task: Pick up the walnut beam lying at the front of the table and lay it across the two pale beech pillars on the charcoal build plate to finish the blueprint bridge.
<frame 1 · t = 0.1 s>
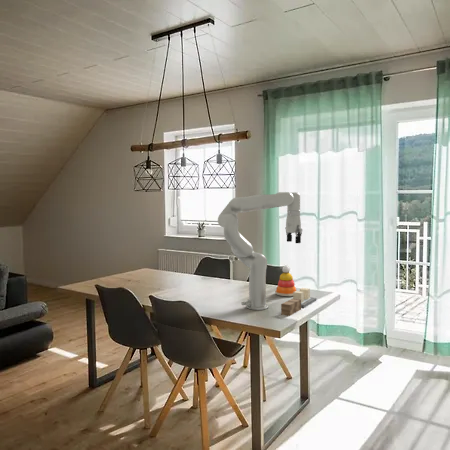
hand: (293, 242, 255), 37 cm above the table, tool pointing down, fingers open, 9 cm apart
walnut beam: (291, 312, 239), on the table
stacking toy: (286, 295, 280), on the table
build plate: (301, 302, 259), on the table
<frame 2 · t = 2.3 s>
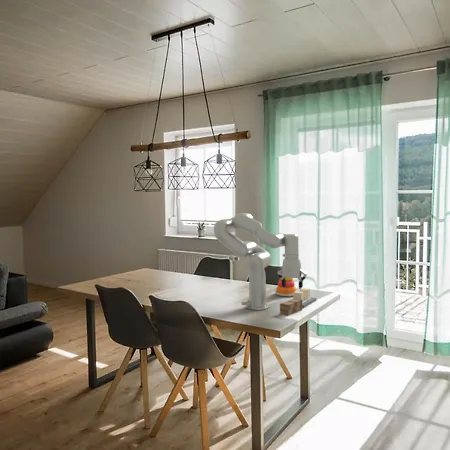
hand: (292, 287, 238), 14 cm above the table, tool pointing down, fingers open, 9 cm apart
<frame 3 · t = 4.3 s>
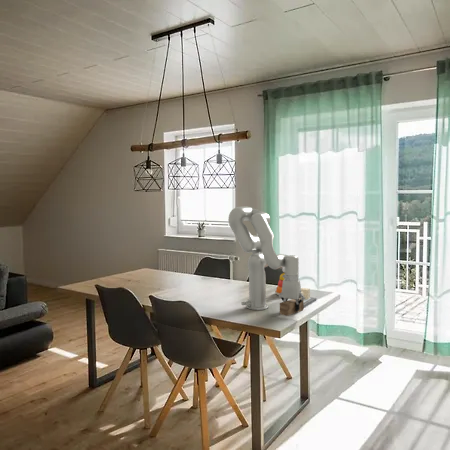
hand: (291, 309, 239), 1 cm above the table, tool pointing down, fingers closed on walnut beam, 5 cm apart
walnut beam: (291, 312, 239), on the table, touching gripper
everything else where it was.
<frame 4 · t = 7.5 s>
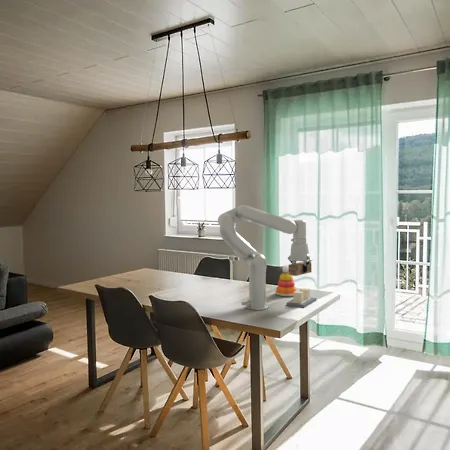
hand: (300, 271, 252), 20 cm above the table, tool pointing down, fingers closed on walnut beam, 5 cm apart
walnut beam: (300, 273, 252), point 19 cm above the table, touching gripper
everything else where it was.
when the fingers open (10 cm above the table, at t = 10.6 s): walnut beam drops 1 cm, resting on build plate.
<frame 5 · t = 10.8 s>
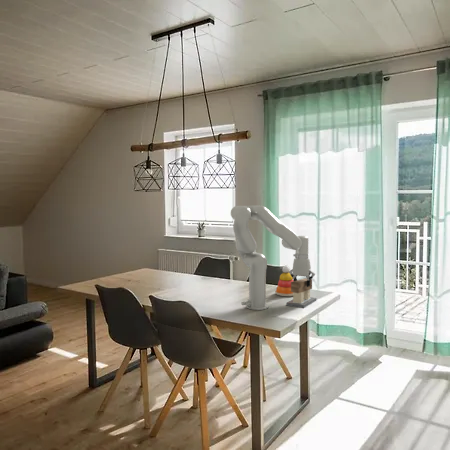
hand: (301, 285, 258), 10 cm above the table, tool pointing down, fingers open, 7 cm apart
walnut beam: (301, 290, 258), point 7 cm above the table, touching build plate
everything else where it was.
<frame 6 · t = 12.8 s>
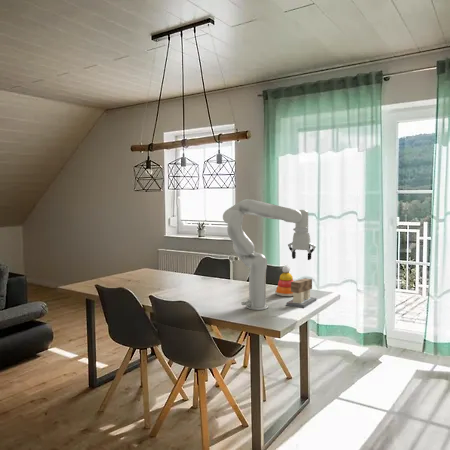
hand: (301, 259, 257), 26 cm above the table, tool pointing down, fingers open, 9 cm apart
nothing on the table moved.
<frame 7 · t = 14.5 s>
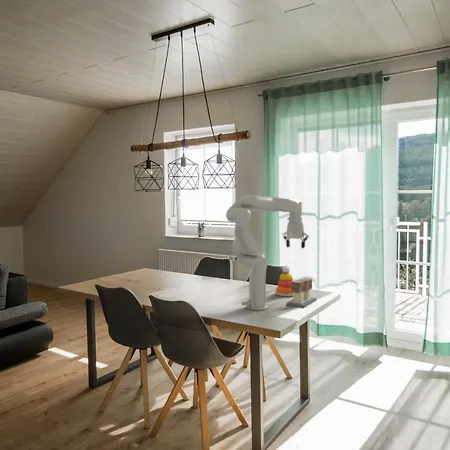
hand: (295, 247, 265), 32 cm above the table, tool pointing down, fingers open, 9 cm apart
nothing on the table moved.
at the end: walnut beam 0.0 cm off-centre on the build plate, point 7.5 cm above the build plate's base; walnut beam tilted 0°; the gripper is holding nothing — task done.
